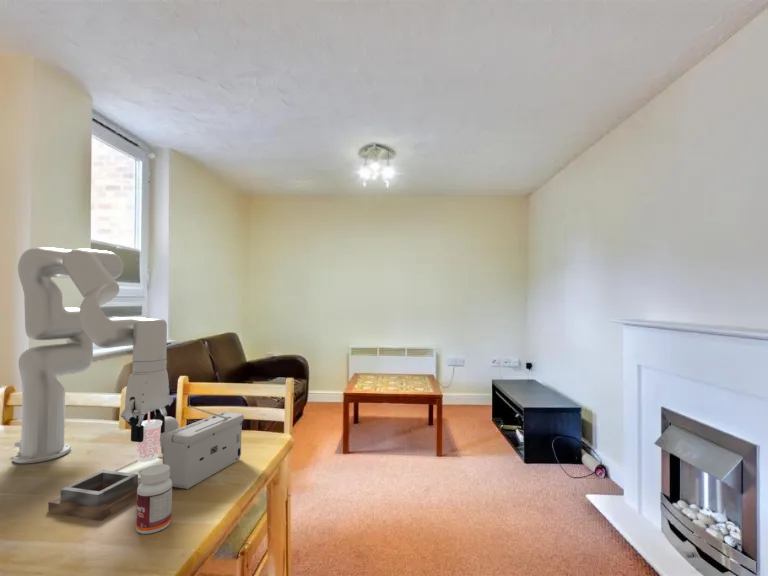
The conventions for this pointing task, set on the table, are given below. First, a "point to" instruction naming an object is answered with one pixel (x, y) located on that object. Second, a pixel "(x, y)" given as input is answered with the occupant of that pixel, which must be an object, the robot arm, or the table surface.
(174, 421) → the lightbulb
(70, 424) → the table surface
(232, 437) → the stereo radio cassette player
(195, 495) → the table surface
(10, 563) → the table surface
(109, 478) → the socket board
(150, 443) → the beverage cup
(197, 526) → the table surface
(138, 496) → the pill bottle
